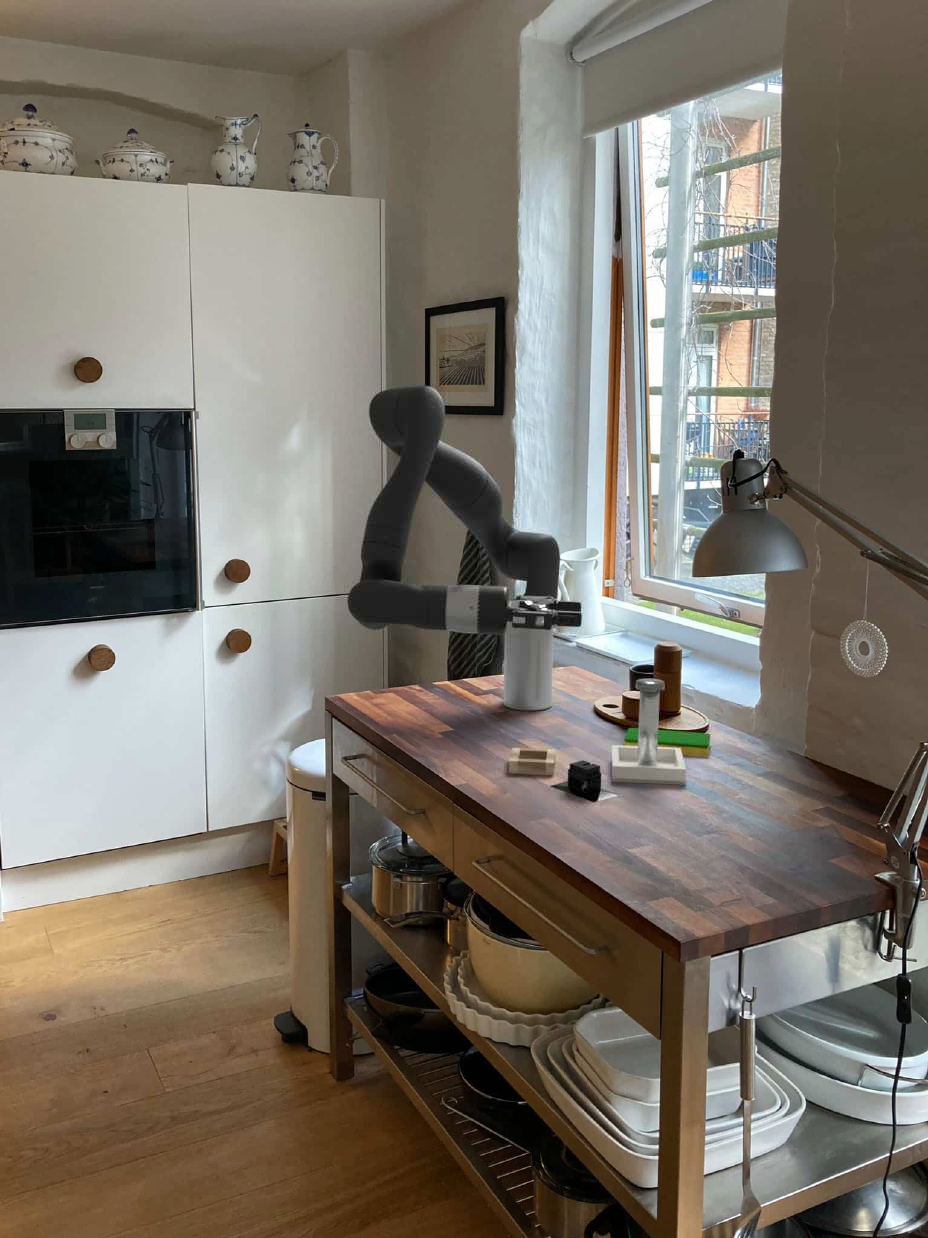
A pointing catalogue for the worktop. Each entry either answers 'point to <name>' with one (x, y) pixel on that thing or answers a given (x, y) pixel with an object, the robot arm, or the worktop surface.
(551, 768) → the socket block
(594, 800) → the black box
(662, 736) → the dish sponge
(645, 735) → the pin
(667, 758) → the dish
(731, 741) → the worktop surface
